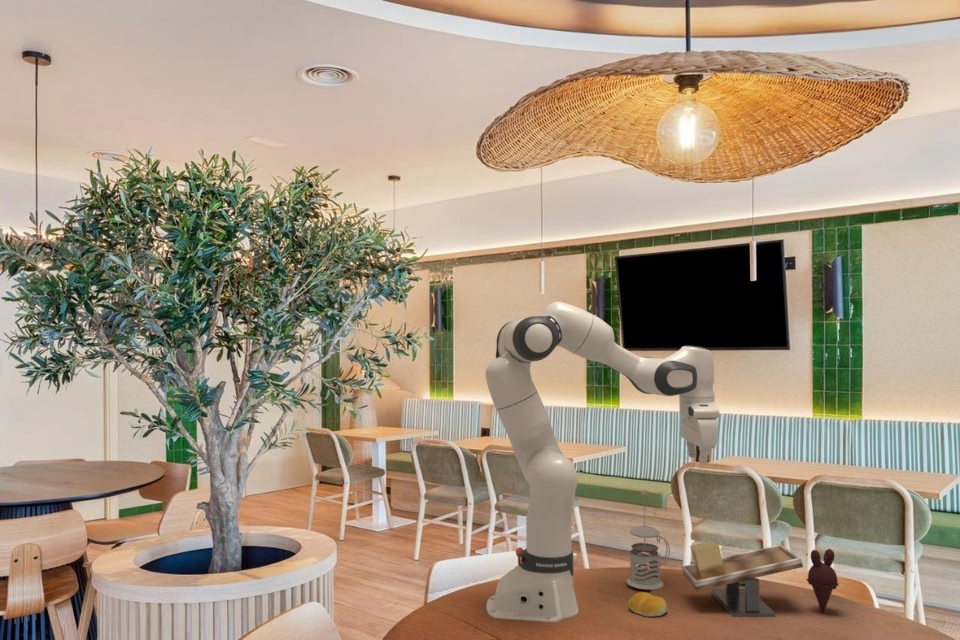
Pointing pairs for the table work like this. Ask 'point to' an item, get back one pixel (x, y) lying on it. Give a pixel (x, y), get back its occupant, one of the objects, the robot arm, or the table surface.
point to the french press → (645, 558)
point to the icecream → (822, 577)
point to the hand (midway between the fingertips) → (697, 460)
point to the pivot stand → (743, 600)
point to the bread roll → (647, 604)
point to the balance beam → (746, 566)
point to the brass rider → (707, 559)
